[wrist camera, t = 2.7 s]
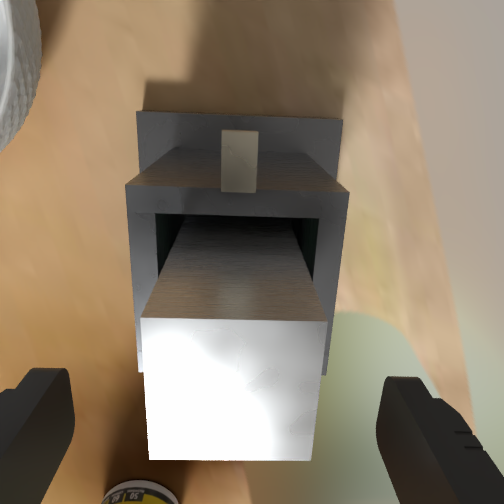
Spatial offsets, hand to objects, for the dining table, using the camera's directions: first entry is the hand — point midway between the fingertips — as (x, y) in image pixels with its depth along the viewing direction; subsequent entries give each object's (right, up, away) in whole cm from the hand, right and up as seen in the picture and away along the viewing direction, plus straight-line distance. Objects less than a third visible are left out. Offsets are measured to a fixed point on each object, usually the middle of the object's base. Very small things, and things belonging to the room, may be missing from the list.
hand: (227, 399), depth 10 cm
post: (0, +6, +15) cm, 16 cm away
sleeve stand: (0, +7, +17) cm, 18 cm away
